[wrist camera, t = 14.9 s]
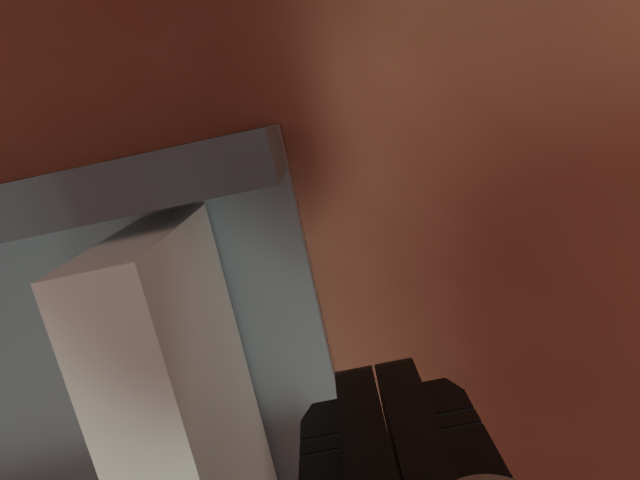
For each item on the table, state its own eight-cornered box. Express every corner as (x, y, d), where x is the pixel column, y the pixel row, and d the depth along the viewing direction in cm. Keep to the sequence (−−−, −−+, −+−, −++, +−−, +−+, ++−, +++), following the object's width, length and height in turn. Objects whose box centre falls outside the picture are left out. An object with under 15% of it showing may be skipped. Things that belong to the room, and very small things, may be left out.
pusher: (285, 511, 14) (271, 719, 9) (230, 522, 14) (187, 734, 9) (204, 203, 12) (134, 261, 7) (141, 217, 12) (30, 283, 7)
